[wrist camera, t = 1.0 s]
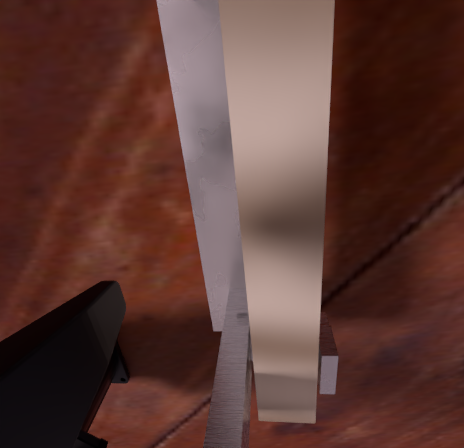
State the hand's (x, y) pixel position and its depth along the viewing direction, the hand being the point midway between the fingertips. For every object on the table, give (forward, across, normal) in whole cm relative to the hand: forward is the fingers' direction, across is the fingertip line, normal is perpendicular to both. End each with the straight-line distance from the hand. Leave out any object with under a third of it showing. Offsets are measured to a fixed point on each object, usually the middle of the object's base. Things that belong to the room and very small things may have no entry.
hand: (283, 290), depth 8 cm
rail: (+7, 0, 0) cm, 7 cm away
